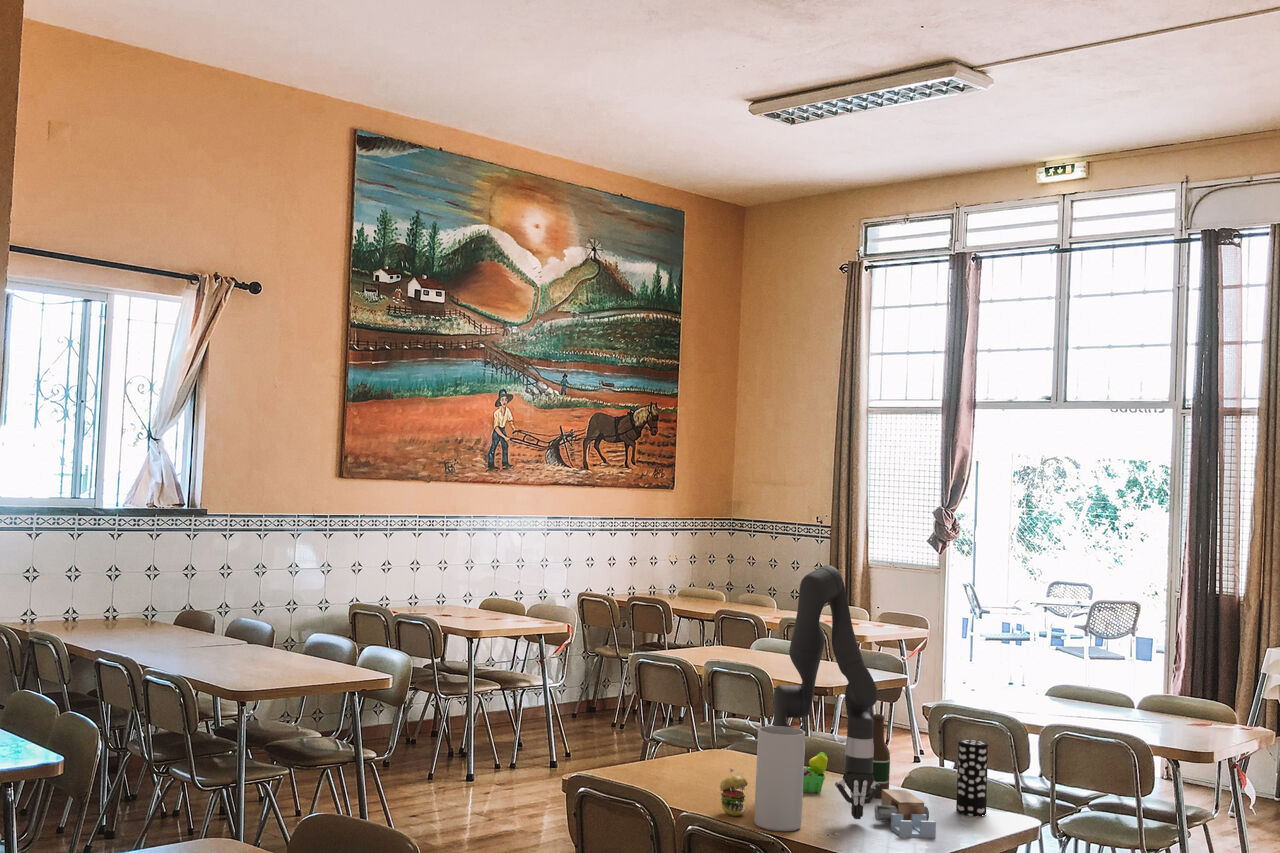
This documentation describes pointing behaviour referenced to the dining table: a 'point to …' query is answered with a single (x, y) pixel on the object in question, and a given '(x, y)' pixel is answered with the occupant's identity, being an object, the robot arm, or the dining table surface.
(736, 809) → the hamburger
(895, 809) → the axle
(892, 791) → the beam
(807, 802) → the dining table surface
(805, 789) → the fruit basket
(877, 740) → the beer bottle
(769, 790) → the cylinder vase
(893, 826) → the cradle
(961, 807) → the spotted tube
